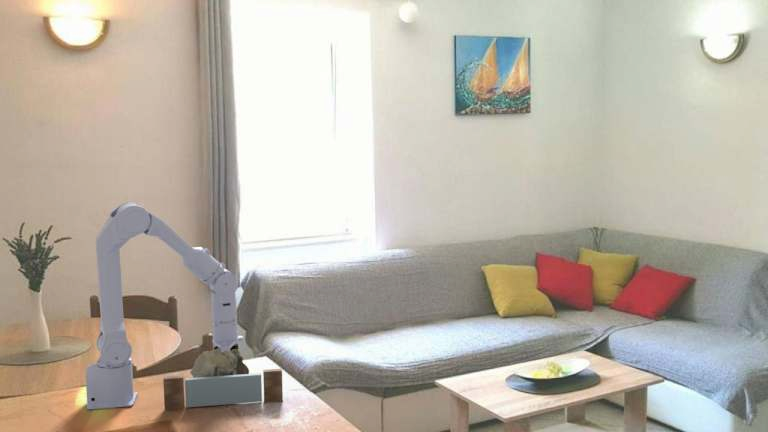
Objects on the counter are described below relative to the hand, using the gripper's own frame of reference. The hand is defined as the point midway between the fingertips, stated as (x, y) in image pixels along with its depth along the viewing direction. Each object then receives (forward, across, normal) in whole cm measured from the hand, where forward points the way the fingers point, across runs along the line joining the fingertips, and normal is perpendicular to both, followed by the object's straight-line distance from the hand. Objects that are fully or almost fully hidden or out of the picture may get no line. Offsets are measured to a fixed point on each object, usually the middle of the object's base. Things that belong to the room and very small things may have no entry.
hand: (227, 375), depth 169 cm
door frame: (+2, -14, +1) cm, 14 cm away
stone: (-4, -11, 0) cm, 11 cm away
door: (+1, -14, +1) cm, 14 cm away
